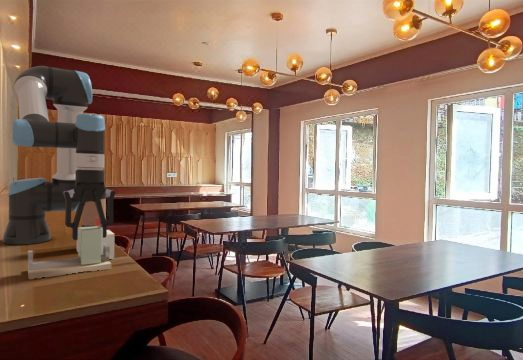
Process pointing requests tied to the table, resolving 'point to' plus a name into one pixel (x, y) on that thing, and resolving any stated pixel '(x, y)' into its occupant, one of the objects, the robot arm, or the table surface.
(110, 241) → the hollow box
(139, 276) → the table surface
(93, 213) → the travel mug
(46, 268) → the rail
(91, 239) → the carriage
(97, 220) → the button
